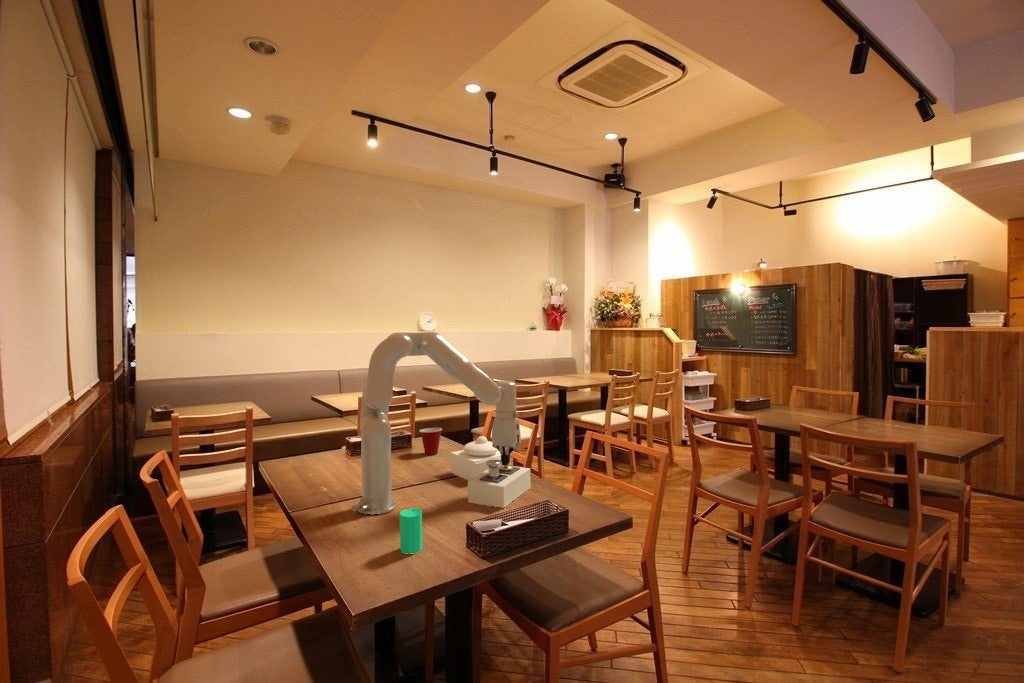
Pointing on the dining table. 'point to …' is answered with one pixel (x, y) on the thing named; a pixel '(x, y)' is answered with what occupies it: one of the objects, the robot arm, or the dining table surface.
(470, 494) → the socket block
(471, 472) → the butter dish
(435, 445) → the plastic cup
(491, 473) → the grey peg
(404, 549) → the candle
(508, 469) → the brass-capped peg
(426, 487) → the dining table surface
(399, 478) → the dining table surface
